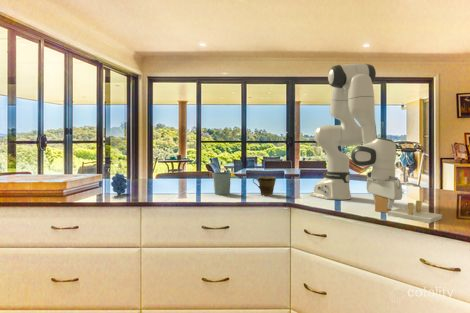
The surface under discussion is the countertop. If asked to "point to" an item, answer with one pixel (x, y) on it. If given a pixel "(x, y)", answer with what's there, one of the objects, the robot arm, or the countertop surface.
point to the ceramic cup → (266, 185)
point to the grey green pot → (222, 183)
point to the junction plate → (415, 213)
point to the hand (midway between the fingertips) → (382, 206)
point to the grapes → (119, 183)
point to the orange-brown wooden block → (381, 204)
